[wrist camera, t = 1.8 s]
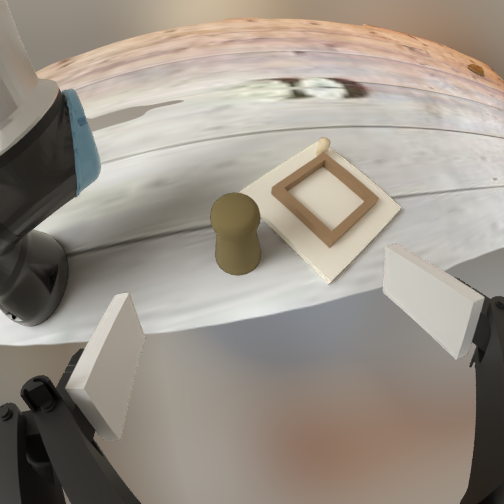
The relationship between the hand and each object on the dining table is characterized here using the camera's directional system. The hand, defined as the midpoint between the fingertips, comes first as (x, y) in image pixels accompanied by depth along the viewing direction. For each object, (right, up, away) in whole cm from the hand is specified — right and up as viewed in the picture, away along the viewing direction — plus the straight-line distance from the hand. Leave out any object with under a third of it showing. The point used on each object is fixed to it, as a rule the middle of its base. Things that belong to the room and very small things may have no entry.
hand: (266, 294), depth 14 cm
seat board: (+10, +9, +28) cm, 32 cm away
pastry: (+99, +83, +64) cm, 144 cm away
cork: (-3, +2, +25) cm, 25 cm away
